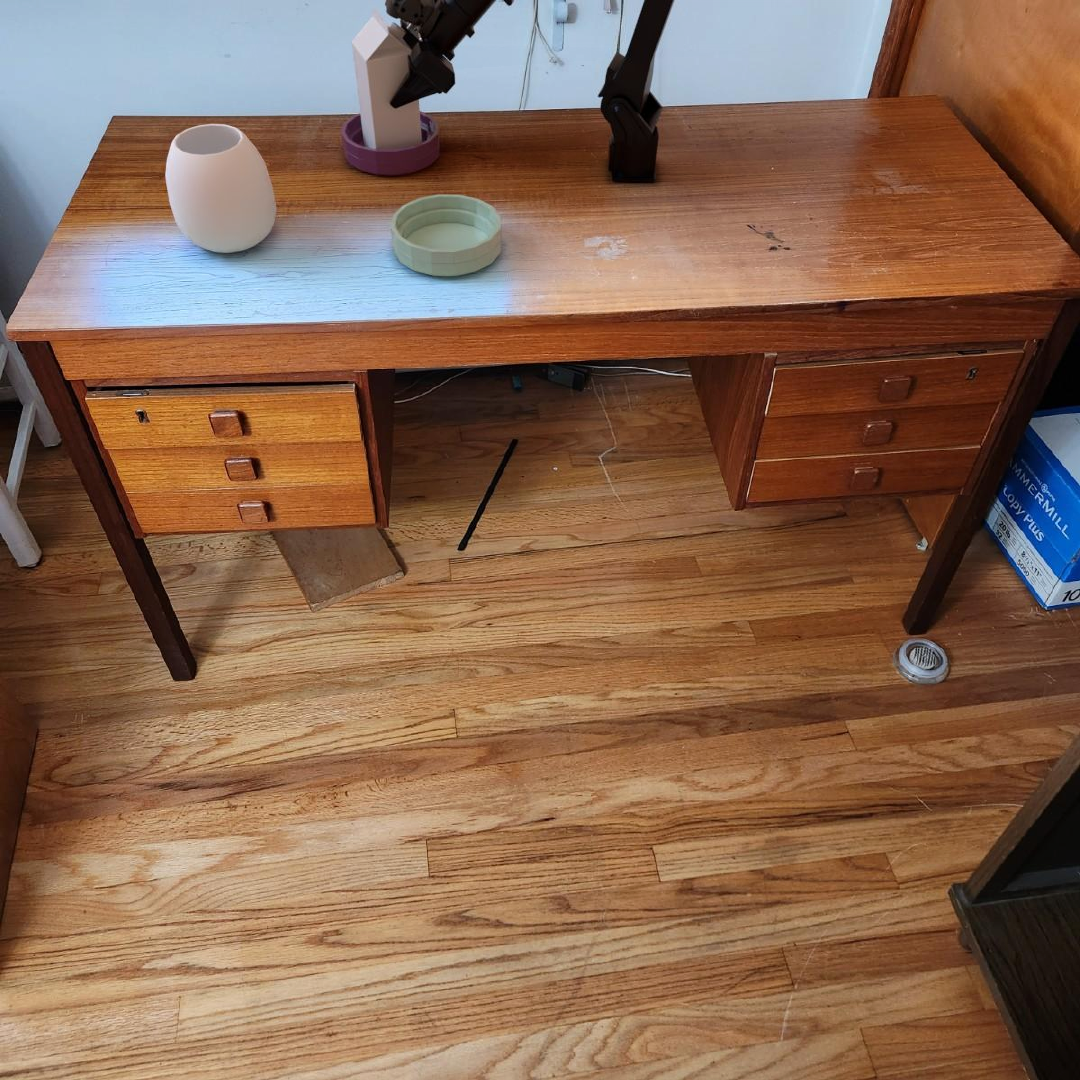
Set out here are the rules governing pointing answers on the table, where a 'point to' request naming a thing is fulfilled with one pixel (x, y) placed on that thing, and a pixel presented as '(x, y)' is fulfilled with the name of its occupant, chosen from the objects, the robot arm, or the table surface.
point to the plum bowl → (390, 159)
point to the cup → (219, 188)
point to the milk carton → (384, 86)
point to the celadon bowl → (446, 234)
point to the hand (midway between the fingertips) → (389, 92)
